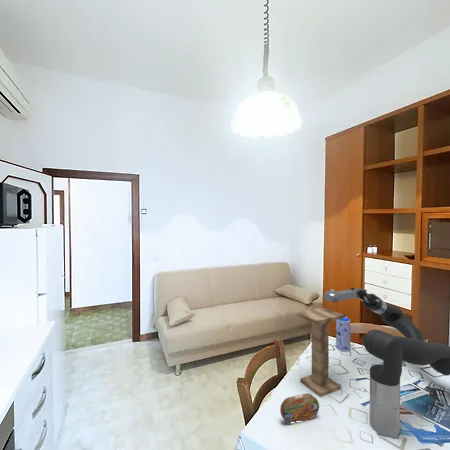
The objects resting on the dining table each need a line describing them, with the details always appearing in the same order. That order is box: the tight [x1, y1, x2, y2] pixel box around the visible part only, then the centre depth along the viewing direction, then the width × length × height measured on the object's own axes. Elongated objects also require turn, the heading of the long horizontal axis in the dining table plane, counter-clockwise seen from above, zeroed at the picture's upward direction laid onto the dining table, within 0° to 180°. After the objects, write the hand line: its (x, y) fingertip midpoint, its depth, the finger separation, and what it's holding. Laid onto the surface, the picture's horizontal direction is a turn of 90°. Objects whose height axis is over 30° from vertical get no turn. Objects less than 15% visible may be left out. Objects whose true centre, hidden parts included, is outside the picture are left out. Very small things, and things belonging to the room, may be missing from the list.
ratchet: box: [323, 287, 368, 303], centre depth 128 cm, size 24×6×5 cm, turn 117°
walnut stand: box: [296, 307, 344, 398], centre depth 120 cm, size 16×12×32 cm
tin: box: [279, 392, 320, 425], centre depth 99 cm, size 15×3×8 cm, turn 106°
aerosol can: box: [335, 313, 352, 353], centre depth 155 cm, size 8×8×20 cm
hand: (355, 290), depth 131 cm, fingers closed on ratchet, 4 cm apart
